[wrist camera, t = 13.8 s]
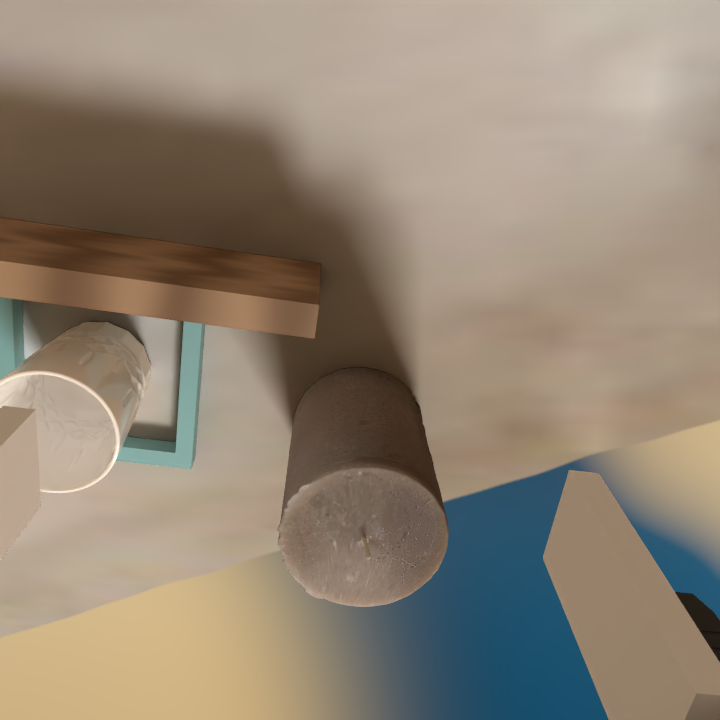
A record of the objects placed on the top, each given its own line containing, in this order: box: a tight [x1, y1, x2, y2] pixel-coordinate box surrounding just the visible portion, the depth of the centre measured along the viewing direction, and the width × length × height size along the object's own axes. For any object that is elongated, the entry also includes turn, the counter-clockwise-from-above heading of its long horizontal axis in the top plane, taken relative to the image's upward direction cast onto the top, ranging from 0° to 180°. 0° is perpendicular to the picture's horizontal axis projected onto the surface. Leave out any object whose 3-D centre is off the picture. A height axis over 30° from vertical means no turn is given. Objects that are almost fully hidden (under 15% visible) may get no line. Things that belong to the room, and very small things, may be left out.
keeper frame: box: [0, 297, 205, 469], centre depth 46 cm, size 13×13×2 cm
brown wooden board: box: [0, 217, 321, 339], centre depth 40 cm, size 28×2×9 cm, turn 81°
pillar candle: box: [278, 367, 448, 607], centre depth 43 cm, size 10×10×15 cm
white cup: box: [0, 322, 151, 493], centre depth 42 cm, size 8×8×10 cm
